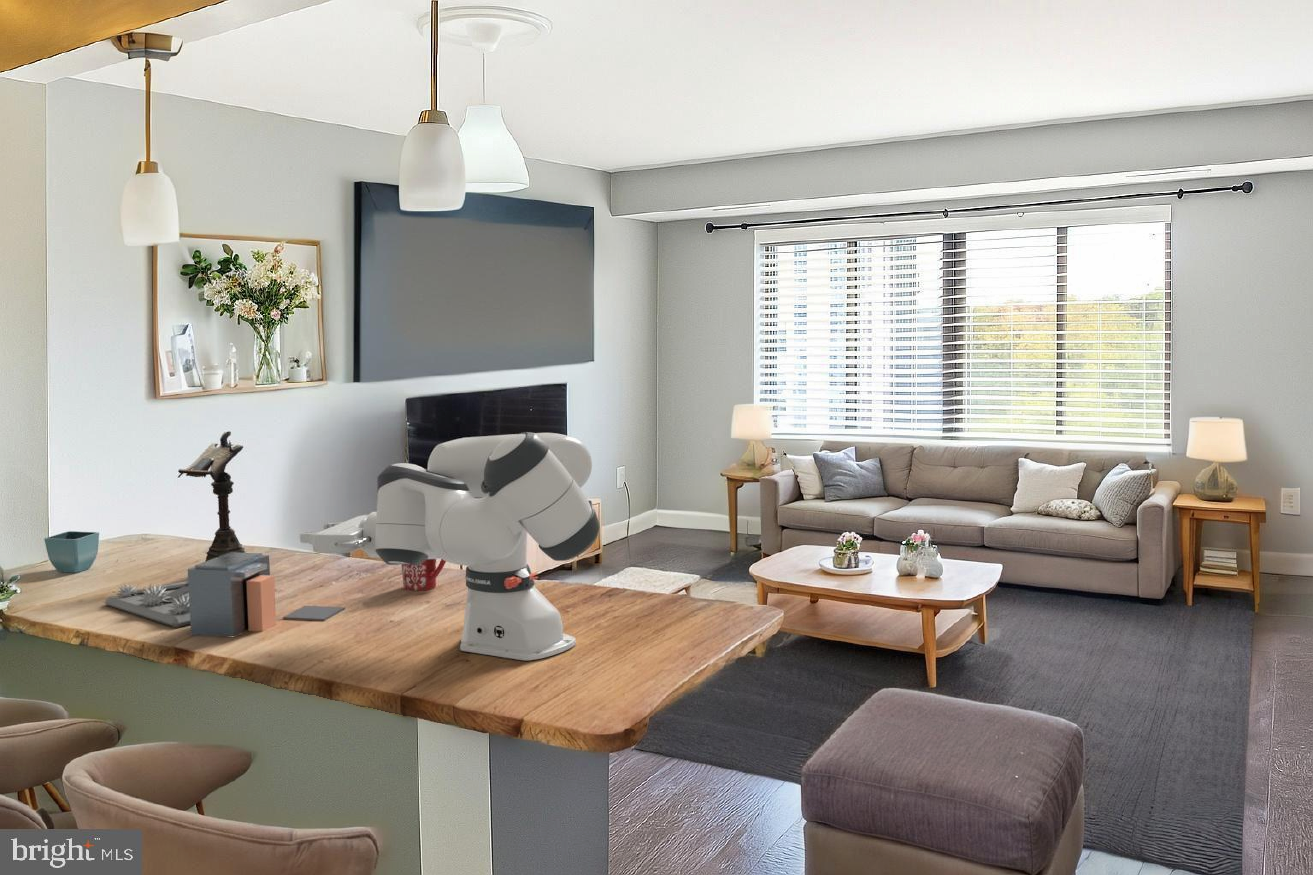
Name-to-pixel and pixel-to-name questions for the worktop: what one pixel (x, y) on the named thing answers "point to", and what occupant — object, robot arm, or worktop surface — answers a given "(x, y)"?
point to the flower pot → (72, 550)
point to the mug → (421, 575)
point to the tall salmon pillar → (261, 603)
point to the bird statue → (218, 492)
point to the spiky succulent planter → (156, 603)
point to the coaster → (314, 613)
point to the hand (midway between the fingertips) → (313, 532)
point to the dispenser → (223, 593)
